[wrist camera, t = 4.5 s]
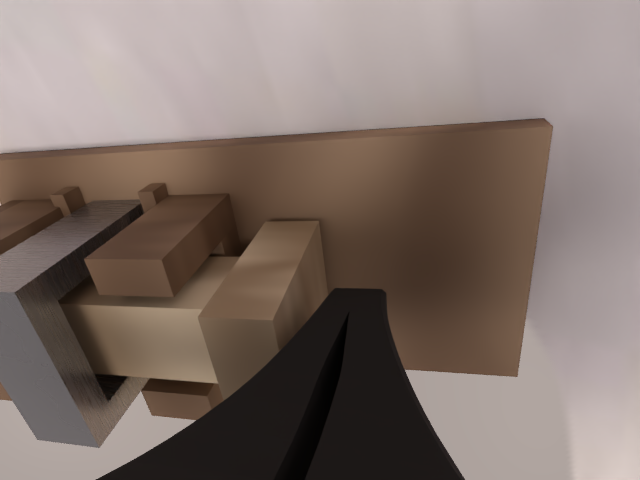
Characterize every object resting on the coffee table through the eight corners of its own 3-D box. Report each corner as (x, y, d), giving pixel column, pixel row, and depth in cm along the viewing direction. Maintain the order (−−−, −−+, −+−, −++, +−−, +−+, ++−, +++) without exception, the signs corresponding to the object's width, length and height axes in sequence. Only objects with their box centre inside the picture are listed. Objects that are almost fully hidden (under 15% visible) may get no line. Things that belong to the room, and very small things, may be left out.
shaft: (318, 220, 12) (272, 320, 8) (331, 321, 14) (298, 442, 10) (55, 224, 14) (-79, 305, 10) (94, 311, 16) (-8, 408, 12)
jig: (544, 118, 10) (620, 185, 7) (512, 358, 14) (548, 494, 10) (0, 153, 14) (-158, 209, 10) (87, 334, 18) (-6, 426, 14)
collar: (146, 198, 13) (14, 292, 9) (188, 325, 15) (99, 447, 11) (92, 200, 14) (-59, 290, 9) (140, 322, 16) (37, 439, 12)
